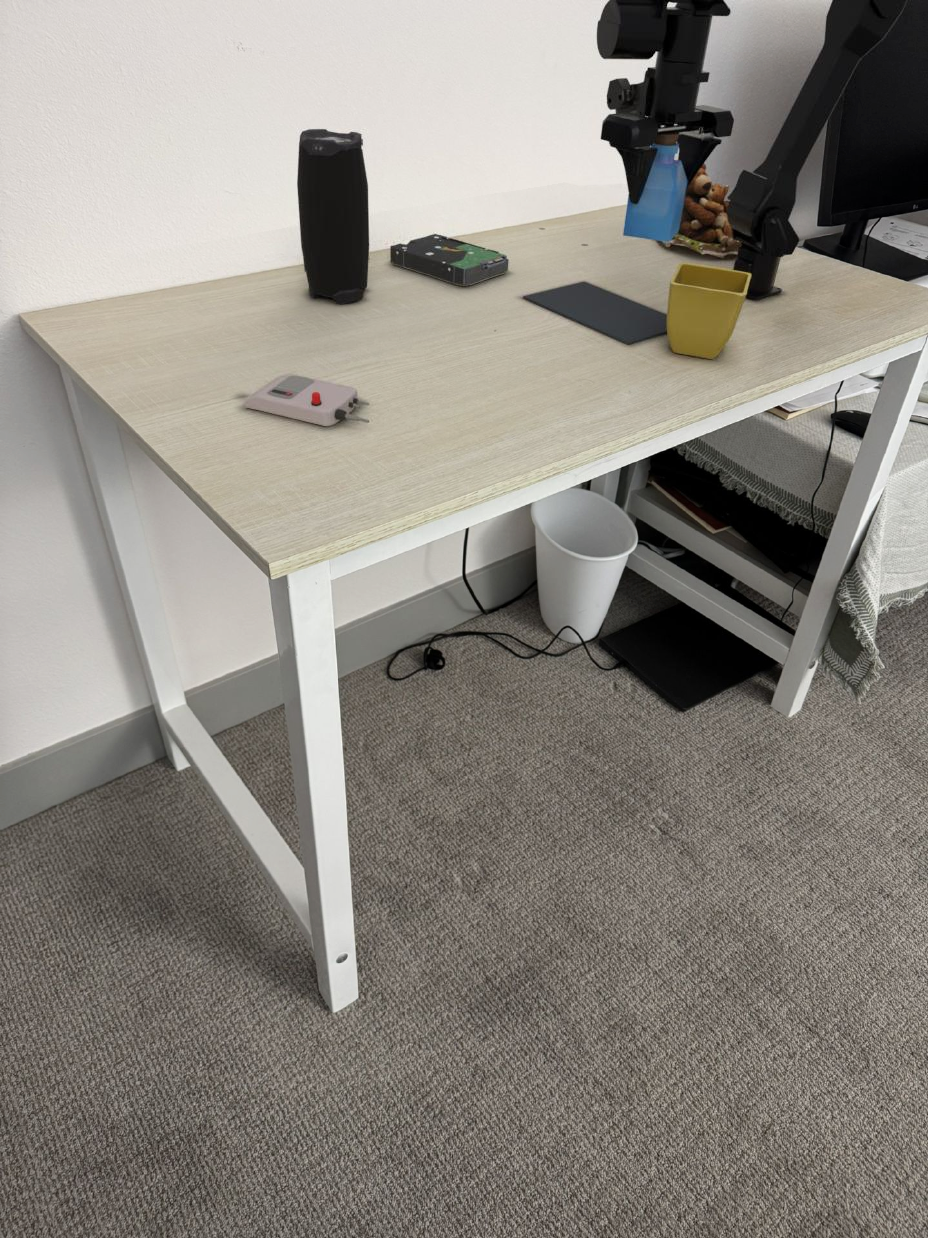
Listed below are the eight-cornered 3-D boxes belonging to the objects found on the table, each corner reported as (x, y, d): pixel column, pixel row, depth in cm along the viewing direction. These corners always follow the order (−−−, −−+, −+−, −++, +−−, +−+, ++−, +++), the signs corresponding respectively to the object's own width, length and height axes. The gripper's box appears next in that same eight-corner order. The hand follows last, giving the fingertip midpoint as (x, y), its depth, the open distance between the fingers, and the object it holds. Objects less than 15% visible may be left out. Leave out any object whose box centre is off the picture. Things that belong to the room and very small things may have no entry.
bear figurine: (692, 264, 137) (709, 179, 130) (643, 237, 148) (656, 157, 140) (764, 258, 141) (784, 175, 134) (711, 232, 152) (727, 154, 144)
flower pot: (735, 343, 112) (752, 271, 106) (728, 369, 105) (746, 293, 100) (666, 332, 114) (680, 261, 108) (655, 357, 107) (669, 282, 102)
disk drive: (388, 265, 131) (465, 288, 124) (388, 246, 129) (465, 268, 122) (434, 251, 137) (509, 272, 130) (434, 232, 136) (510, 252, 128)
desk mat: (584, 283, 128) (584, 281, 128) (690, 325, 116) (690, 323, 116) (522, 298, 122) (522, 295, 122) (628, 344, 110) (628, 342, 110)
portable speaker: (379, 288, 123) (376, 130, 110) (353, 310, 116) (348, 144, 103) (322, 279, 124) (313, 123, 112) (294, 300, 117) (281, 136, 105)
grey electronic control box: (264, 381, 97) (261, 355, 95) (391, 410, 93) (391, 383, 91) (230, 404, 92) (226, 377, 91) (362, 436, 88) (361, 408, 86)
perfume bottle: (622, 235, 117) (636, 133, 109) (634, 223, 121) (648, 125, 114) (668, 242, 115) (686, 139, 107) (678, 230, 119) (696, 131, 112)
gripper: (681, 48, 115) (659, 178, 125) (578, 53, 106) (563, 193, 116) (749, 60, 108) (720, 196, 118) (645, 66, 99) (623, 213, 109)
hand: (656, 199), depth 115 cm, fingers closed on perfume bottle, 8 cm apart
